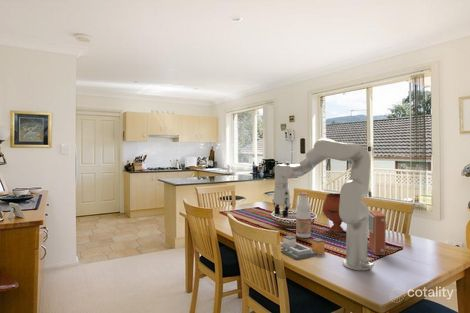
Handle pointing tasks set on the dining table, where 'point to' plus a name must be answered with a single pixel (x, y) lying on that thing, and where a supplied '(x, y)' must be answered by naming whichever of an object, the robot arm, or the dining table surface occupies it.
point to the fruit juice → (303, 217)
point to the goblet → (333, 211)
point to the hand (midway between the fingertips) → (281, 215)
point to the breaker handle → (290, 241)
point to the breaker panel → (297, 251)
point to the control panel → (377, 232)
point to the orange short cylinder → (318, 245)
